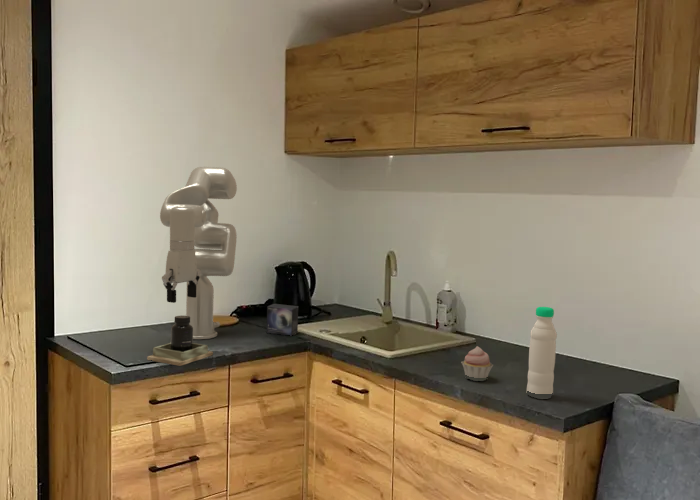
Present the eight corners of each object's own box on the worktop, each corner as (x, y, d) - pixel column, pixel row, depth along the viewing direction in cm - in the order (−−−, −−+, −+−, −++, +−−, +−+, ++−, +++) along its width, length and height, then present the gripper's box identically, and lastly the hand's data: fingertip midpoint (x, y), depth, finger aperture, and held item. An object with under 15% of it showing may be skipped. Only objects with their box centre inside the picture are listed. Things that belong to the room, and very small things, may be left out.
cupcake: (482, 374, 210) (484, 342, 209) (497, 382, 201) (499, 349, 200) (455, 375, 207) (456, 343, 206) (468, 384, 198) (470, 350, 197)
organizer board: (181, 349, 226) (181, 339, 226) (212, 354, 221) (213, 344, 220) (147, 359, 212) (147, 348, 212) (180, 365, 206) (180, 354, 206)
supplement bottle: (186, 357, 213) (187, 319, 212) (166, 355, 214) (167, 317, 213) (196, 352, 219) (196, 315, 218) (176, 350, 221) (177, 314, 220)
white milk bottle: (527, 399, 186) (533, 309, 184) (525, 391, 193) (530, 304, 191) (554, 401, 185) (560, 310, 183) (550, 393, 192) (556, 306, 190)
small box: (265, 333, 255) (266, 306, 253) (272, 330, 261) (273, 303, 260) (291, 336, 251) (292, 308, 250) (298, 333, 257) (299, 305, 256)
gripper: (190, 242, 222) (190, 293, 225) (153, 247, 207) (153, 302, 209) (209, 244, 219) (208, 296, 221) (173, 249, 204) (172, 305, 206)
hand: (181, 299), depth 215 cm, fingers open, 9 cm apart
